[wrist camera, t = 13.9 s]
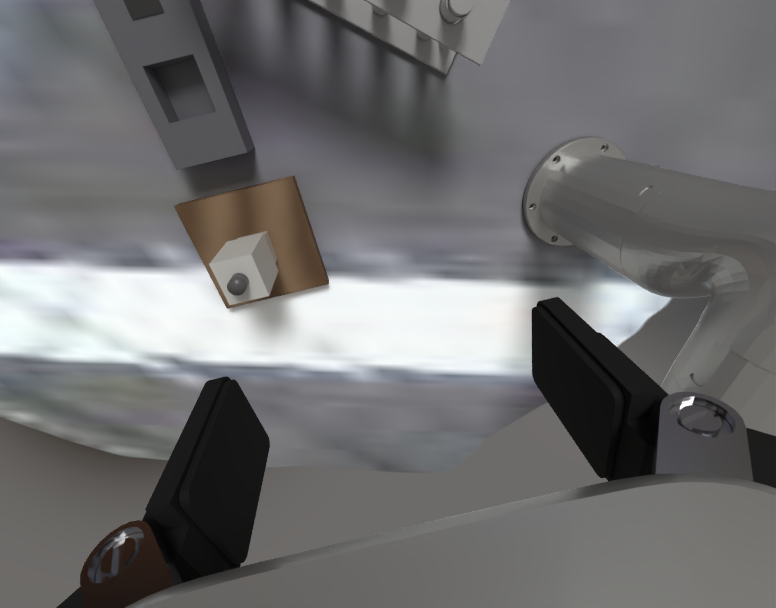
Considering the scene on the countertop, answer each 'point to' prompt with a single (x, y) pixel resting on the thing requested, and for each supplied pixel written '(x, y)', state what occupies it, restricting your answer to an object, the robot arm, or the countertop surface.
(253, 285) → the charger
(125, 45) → the power strip
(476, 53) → the test tube rack
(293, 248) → the walnut board
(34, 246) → the countertop surface
